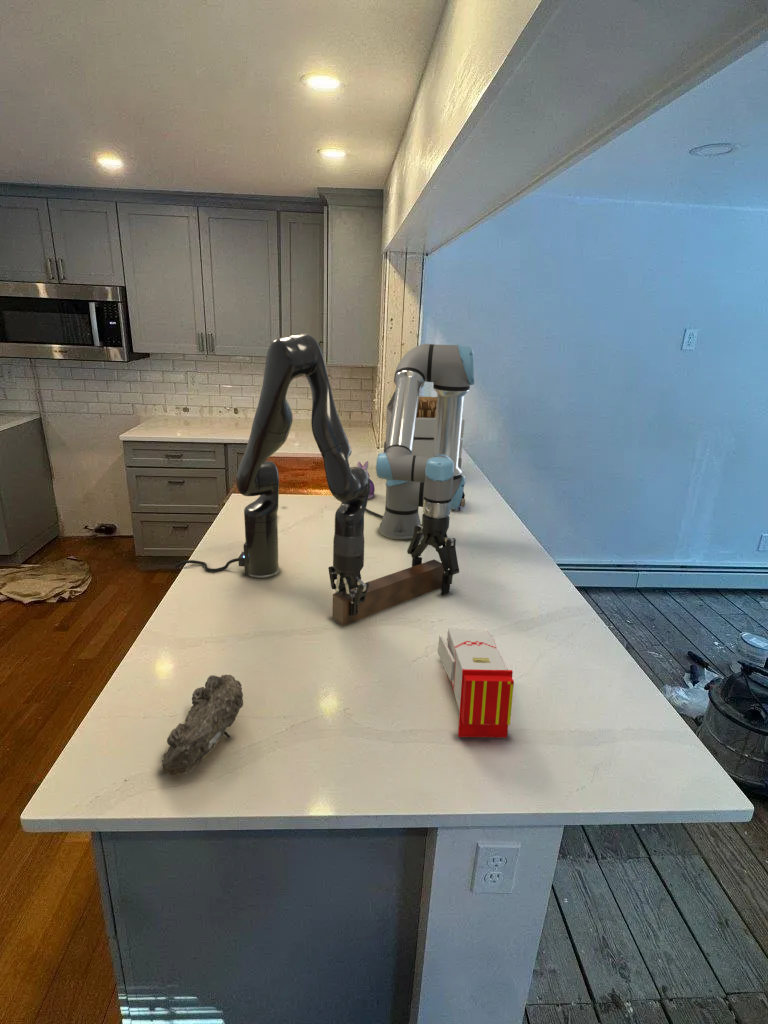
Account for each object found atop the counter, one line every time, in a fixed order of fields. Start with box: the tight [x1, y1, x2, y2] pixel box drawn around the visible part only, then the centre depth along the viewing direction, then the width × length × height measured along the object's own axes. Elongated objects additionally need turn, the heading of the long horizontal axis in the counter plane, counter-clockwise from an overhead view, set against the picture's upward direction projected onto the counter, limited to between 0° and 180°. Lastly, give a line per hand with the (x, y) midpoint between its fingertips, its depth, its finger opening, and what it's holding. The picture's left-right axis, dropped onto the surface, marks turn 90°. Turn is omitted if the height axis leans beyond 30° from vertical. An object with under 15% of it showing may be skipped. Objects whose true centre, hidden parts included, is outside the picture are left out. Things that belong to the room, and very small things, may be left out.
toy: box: [437, 628, 515, 738], centre depth 117 cm, size 12×13×30 cm
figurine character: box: [451, 490, 466, 511], centre depth 229 cm, size 7×8×15 cm
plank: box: [331, 559, 445, 627], centre depth 152 cm, size 36×4×7 cm, turn 131°
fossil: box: [161, 674, 244, 776], centre depth 102 cm, size 22×10×15 cm
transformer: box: [383, 391, 465, 470], centre depth 268 cm, size 34×33×41 cm
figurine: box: [357, 460, 376, 500], centre depth 234 cm, size 9×10×15 cm
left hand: (347, 610), depth 143 cm, fingers closed on plank, 4 cm apart
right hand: (430, 586), depth 163 cm, fingers open, 11 cm apart
